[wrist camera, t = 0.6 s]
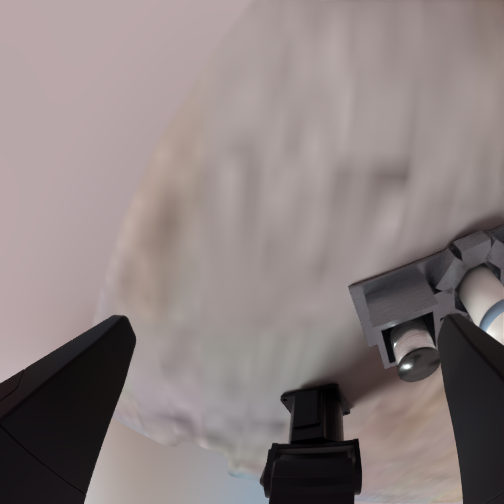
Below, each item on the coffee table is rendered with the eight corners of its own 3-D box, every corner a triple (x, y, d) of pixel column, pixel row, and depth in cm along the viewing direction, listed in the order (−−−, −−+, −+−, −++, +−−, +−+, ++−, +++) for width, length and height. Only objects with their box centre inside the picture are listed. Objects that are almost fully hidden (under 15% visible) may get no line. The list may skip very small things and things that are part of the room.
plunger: (425, 332, 20) (440, 372, 17) (390, 345, 21) (401, 386, 18) (421, 304, 19) (439, 345, 16) (383, 318, 20) (395, 362, 17)
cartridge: (487, 286, 20) (523, 339, 14) (454, 302, 21) (484, 360, 15) (486, 252, 19) (529, 303, 13) (451, 268, 20) (488, 326, 14)
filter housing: (545, 270, 19) (566, 294, 15) (369, 348, 25) (376, 383, 22) (548, 194, 15) (576, 213, 12) (345, 279, 22) (352, 315, 19)
